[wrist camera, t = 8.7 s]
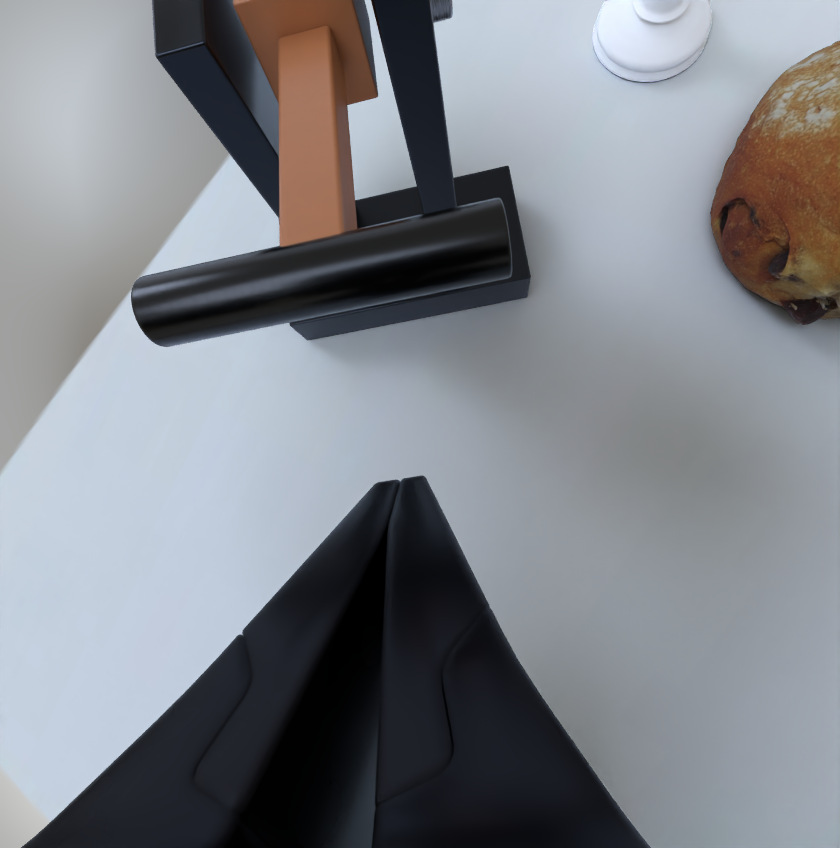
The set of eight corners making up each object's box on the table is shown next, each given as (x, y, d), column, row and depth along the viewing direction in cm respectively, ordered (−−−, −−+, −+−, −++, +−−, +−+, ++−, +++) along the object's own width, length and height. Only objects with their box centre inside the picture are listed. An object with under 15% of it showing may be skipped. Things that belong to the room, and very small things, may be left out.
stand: (527, 297, 21) (584, -48, 8) (307, 340, 23) (30, 105, 9) (507, 194, 22) (527, -278, 9) (296, 241, 23) (28, -110, 10)
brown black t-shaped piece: (513, 313, 9) (512, 209, 6) (194, 374, 9) (95, 301, 7) (446, -1, 12) (430, -139, 10) (214, 62, 13) (151, -53, 10)
